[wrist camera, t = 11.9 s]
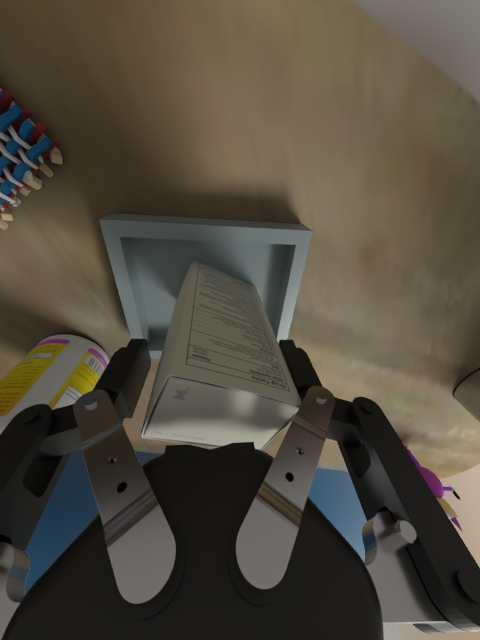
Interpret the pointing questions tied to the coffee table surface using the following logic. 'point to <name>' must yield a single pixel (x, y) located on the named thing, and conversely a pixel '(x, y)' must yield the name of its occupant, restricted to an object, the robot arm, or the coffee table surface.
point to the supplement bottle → (51, 375)
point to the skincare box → (220, 368)
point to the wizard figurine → (438, 490)
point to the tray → (207, 248)
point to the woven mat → (21, 154)
